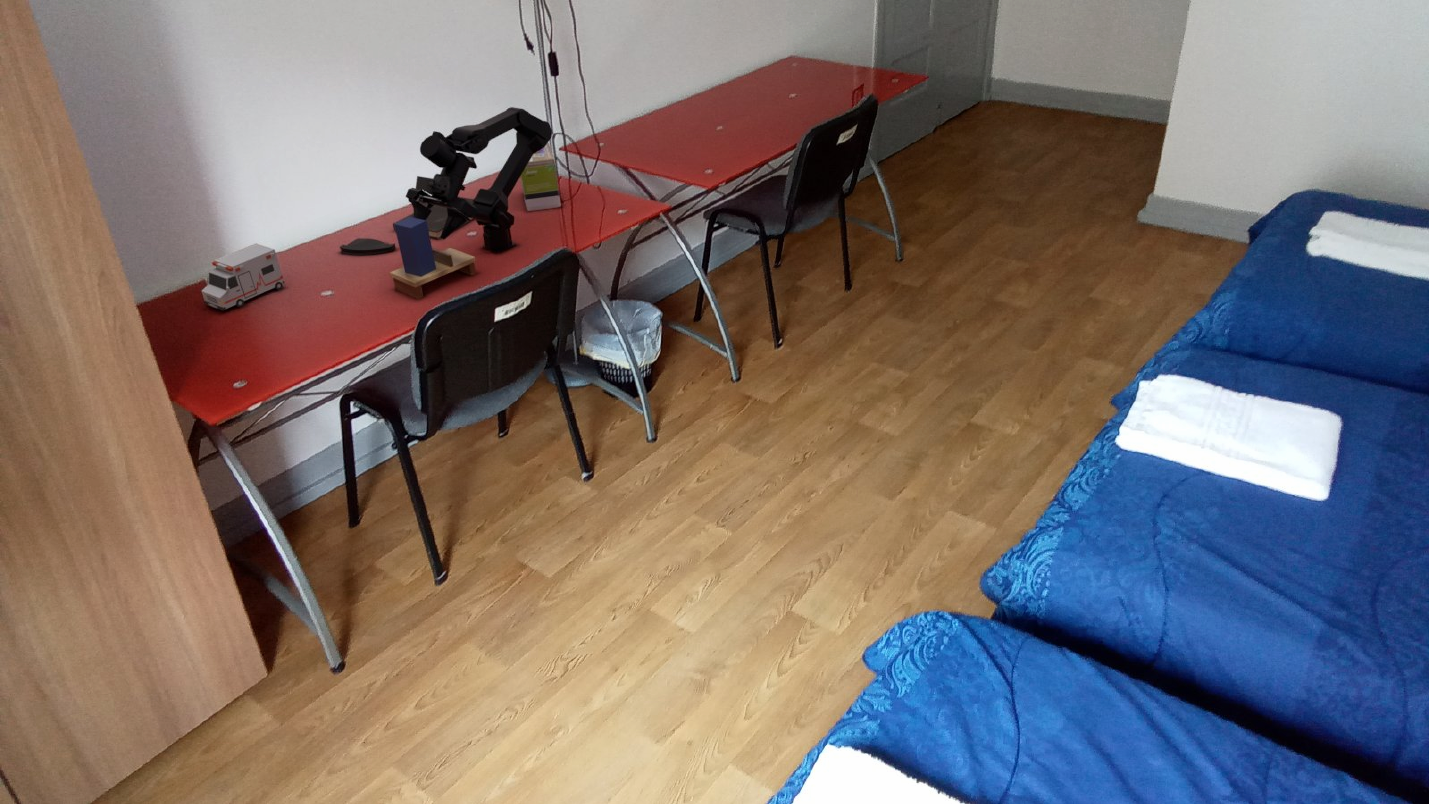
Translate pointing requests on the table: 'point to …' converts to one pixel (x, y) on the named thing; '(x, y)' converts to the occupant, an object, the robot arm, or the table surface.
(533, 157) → the tea box
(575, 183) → the table surface
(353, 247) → the fan shaped piece
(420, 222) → the navy carton
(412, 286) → the wooden stand
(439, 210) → the hardcover book
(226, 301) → the toy vehicle
